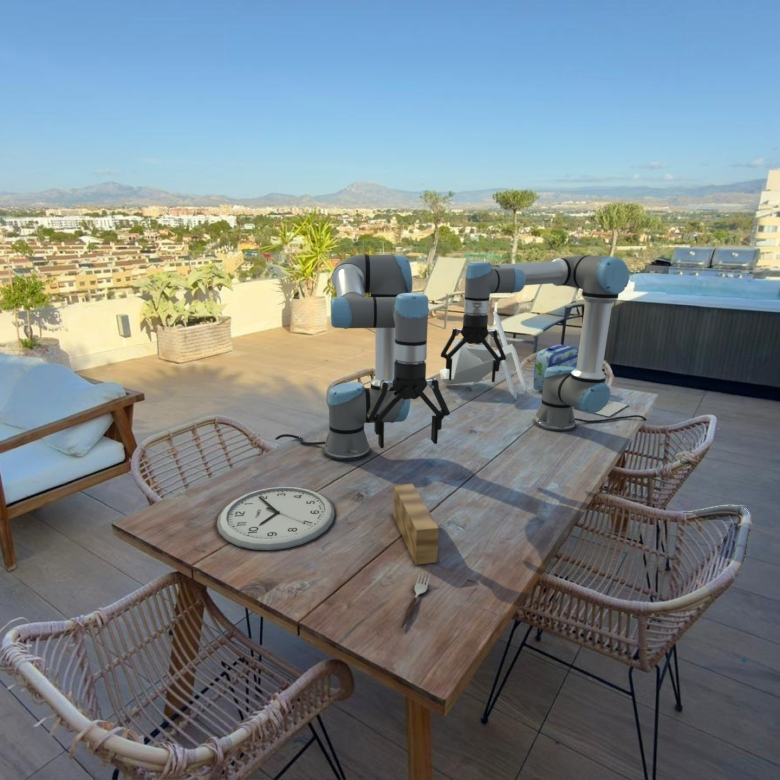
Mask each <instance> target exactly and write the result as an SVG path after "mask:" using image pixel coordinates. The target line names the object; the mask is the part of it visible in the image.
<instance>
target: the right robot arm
mask: <svg viewBox="0 0 780 780" xmlns="http://www.w3.org/2000/svg"><path fill="white" fill-rule="evenodd" d="M464 278H465V282H464V300H463V312H464V313H463V314H462V316H463V318H462V328H460V329H459V328H456V327H453V328H452V331H451V335H450V337H449V338H448V340H447V342H446V343H445V345H444V347H443V349H442V350H441V352H440V357H441V358H443V359H445V368H446V369H449V380H451V374H452V358H451V357H452V356H453V355H454V354H455V353H456V352H457V351H458V350H459V349H460V348H461V347H462V346H463V345H464V344H465V343H466V344H468V345H469V344H470V345H472V344H475V345H481V344H482V345H484V346H485V347H486V348H487V350H488V351H489V352H490V353H491V355H492V356H493V357H494V359H495V360H493V368H492V372H491V383H495V381H496V372H499V371H500V366H501V365H500V361H502V360H506V356H505V354H504V352H503V349H502V348H503V346H502V344H501V341H500V340H499V338H498V329H496V328H494V329H492V330H490V329H488V323H489V315H488V313H489V309H490V295H491V294H514V293H519V292H522V290H524V288H525V286H536V285H550V284H552V285H554V286H556V287H561V286H563V287H570V288H574V289H575V288H576V289H581V290H582V291H581V297H582V299H583V300H584V301H585V304H584V311H583V317H582V324H581V332H580V338H579V339H580V340H579V346H578V357H577V366H576V368H574V367H567V366H556V367H549V368H547V369H546V370H545V374H544V380H543V391H541V402H540V405H539V407H538V410H537V411H536V413H535V416H534V424H535V425H536V426H537V427H539V428H542V429H544V430H549V431H556V432H567V431H572V430H574V429H575V428H576V421H577V422H583V423H602V422H610V421H615V420H620V419H631V418H640V419H643V420H644V421H648V419H647V418H646V417H645V416H643V415H639V414H632V415H625V416H624V415H623V416H615V417H611V418H605V419H594V420H593V419H590V420H589V419H581V418H577V417H576V416H575V413H574V409H575V410H579V412H583V413H587V414H596V412H598V411H600V410H602V408H603V407H605V406H606V404H607V403H608V401H609V400H610V399H611V394H612V393H611V389H610V387H609V385H608V384H606V374H605V373H604V371H603V366H604V359H605V352H606V346H607V341H608V333H609V327H610V321H611V315H612V309H613V304H614V302H616V301H617V300H618V299H619V296H620V295H619V294H622V293H623V292H624V291H625V290H626V289H625V288H627V287H628V284H629V281H630V270H629V267H628V265H627V264H626V262H625V261H624V260H623V259H622V258H618V257H616V256H615V257H614V256H609V255H605V256H604V255H590V254H580V255H573V256H565V257H558V258H554V259H553V260H552V261H537V262H535V261H534V262H518V263H501V264H500V263H499V264H492V263H491V262H490V261H470V262H468V263H467V264H466V268H465V276H464ZM459 334H460V335H461V336H462V338H460V339H461V341H460V342H459V343H458V344H457V345H456V346H455V347H454V348H453V347H452V348H453V349H451V350H450V351H449V349H450V348H451V346H452V345H453V343H454V339H456V337H458V336H459ZM489 335H490V337H491V338H493V341H494V343H495V345H496V348H497V350H499V353H500V355H501V356H498V355H497V354H496V353H495V351H494V350H495V349H493V347H492V346H491V344H489V341H487V340H486V338H487V337H488V336H489ZM448 351H449V352H448ZM447 352H448V353H447ZM499 365H500V366H499Z"/></svg>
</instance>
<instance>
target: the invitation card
mask: <svg viewBox="0 0 780 780" xmlns="http://www.w3.org/2000/svg"><path fill="white" fill-rule="evenodd" d="M628 406H629V404H627V403H623V402H618V401H614V400H610V399H609V401H608V403H607V404H606V406H605V407H603V408H602V410H600V411H598V412H596V413H595V414H596V415H600V416H604V417H608V418H609V417H611V416H613V415H614V414H616V413H617V412H619V411H621V410H623V409H624V408H626V407H628Z"/></svg>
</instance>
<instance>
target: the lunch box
mask: <svg viewBox="0 0 780 780" xmlns="http://www.w3.org/2000/svg"><path fill="white" fill-rule="evenodd" d="M578 353H579V349H578V347H577V346H571V345H565V344H556V345H553V346H549V347H546V348H544V349H541V350H539V351H538V353H537V354H536V357H535V361H534V371H533V372H534V373H533V389H534V390H535V391H539V392H542V391H543V380H544V374H545V370H546V369H547V368H549V367H556V366H567V367H574V368H576V367H577V360H578Z"/></svg>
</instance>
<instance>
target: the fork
mask: <svg viewBox="0 0 780 780" xmlns="http://www.w3.org/2000/svg"><path fill="white" fill-rule="evenodd" d="M421 572H422V571H421V570H420V571H419V574H418V577H417V580H416V583H415V585H414V592H415V596H413V597H414V598H413V599H412V600H411V601H410V603H409V605H408V607H407V608H406V611H405V614H404V618H403V620H402V624H401V625H400V628H401V629H403V628H404V627H405V625H406V623H407V621H408V620H409V617H410V616H411V615H412V613H413V611H414V609H415V606H416V603H417V599H418V597H419V596H420V595H423V594H425V593H426V592H427V590H428V587H429V582H430V577H431V574H429V575H428V572H426V573H425V571H423V573H422V575H421ZM424 574H425V577H424ZM427 576H428V578H427ZM423 579H424V580H423ZM426 580H427V581H426Z"/></svg>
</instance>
